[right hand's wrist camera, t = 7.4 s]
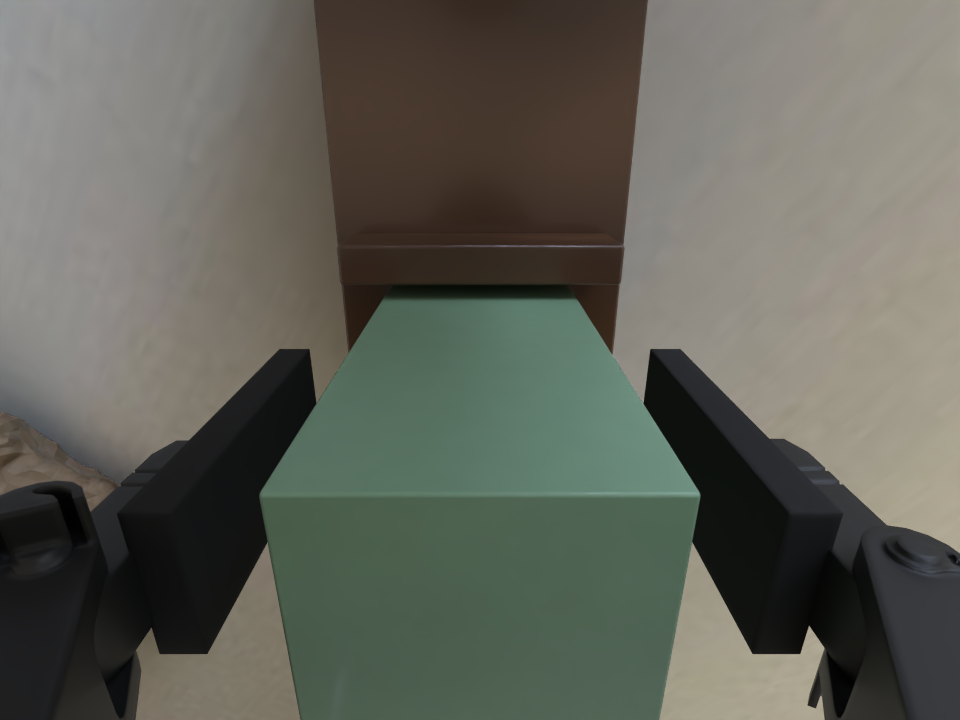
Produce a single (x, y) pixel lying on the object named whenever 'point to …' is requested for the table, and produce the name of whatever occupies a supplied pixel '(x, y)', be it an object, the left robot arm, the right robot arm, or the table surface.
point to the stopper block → (479, 520)
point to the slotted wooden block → (480, 144)
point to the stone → (43, 462)
